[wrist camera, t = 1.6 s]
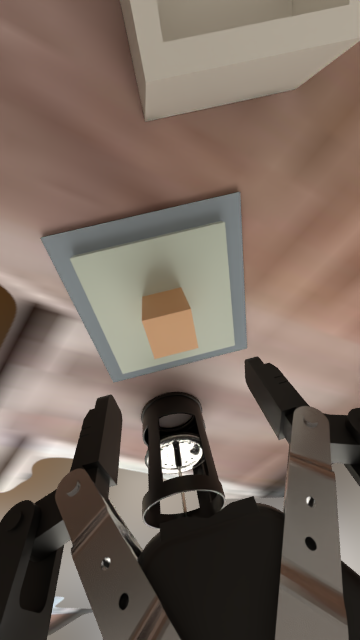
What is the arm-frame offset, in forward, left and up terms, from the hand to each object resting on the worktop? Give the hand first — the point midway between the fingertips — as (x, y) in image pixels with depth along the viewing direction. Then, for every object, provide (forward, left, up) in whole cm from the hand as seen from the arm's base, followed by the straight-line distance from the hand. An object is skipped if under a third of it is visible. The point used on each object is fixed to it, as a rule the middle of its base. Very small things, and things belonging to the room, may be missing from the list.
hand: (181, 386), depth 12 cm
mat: (0, 0, -13) cm, 13 cm away
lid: (0, 0, -12) cm, 12 cm away
